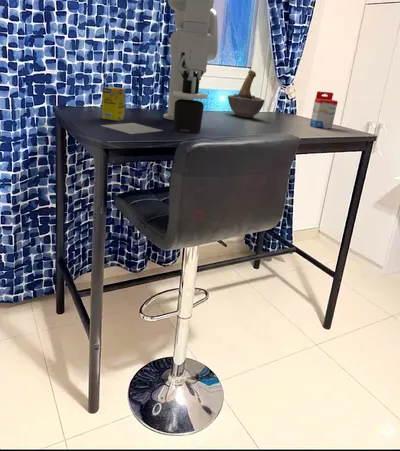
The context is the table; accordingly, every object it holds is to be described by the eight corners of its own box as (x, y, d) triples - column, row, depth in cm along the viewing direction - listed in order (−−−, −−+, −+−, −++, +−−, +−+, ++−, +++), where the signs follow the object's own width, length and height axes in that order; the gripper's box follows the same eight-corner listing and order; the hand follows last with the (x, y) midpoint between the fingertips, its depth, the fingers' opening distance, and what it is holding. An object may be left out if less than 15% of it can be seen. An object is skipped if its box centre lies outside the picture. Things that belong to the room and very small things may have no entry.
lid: (187, 93, 140) (189, 75, 138) (214, 98, 134) (216, 79, 132) (165, 94, 132) (167, 74, 130) (192, 99, 126) (194, 78, 124)
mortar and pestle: (261, 121, 180) (268, 72, 173) (223, 116, 182) (228, 68, 175) (261, 117, 194) (268, 71, 186) (226, 112, 196) (232, 67, 188)
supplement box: (118, 123, 141) (119, 89, 136) (101, 120, 142) (101, 87, 137) (124, 120, 146) (125, 88, 142) (108, 118, 147) (109, 86, 143)
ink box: (315, 127, 179) (322, 92, 173) (309, 125, 183) (316, 91, 178) (332, 128, 181) (339, 93, 176) (326, 126, 186) (333, 92, 180)
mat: (133, 124, 141) (133, 122, 141) (163, 132, 133) (163, 130, 133) (100, 127, 130) (100, 125, 130) (130, 135, 123) (130, 133, 123)
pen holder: (166, 130, 137) (168, 99, 134) (187, 129, 144) (190, 99, 140) (185, 136, 131) (188, 103, 128) (206, 134, 138) (210, 103, 134)
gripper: (202, 32, 134) (197, 91, 141) (168, 26, 122) (164, 91, 129) (221, 33, 130) (214, 94, 137) (187, 27, 118) (182, 95, 125)
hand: (190, 92), depth 133 cm, fingers closed on lid, 2 cm apart
